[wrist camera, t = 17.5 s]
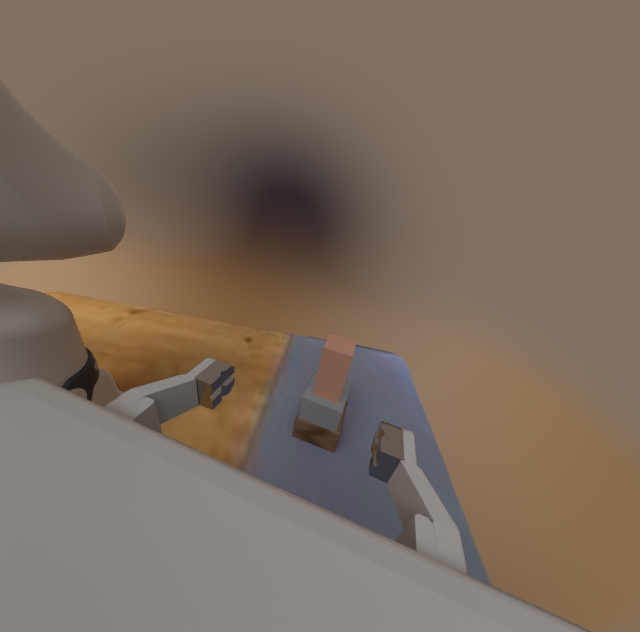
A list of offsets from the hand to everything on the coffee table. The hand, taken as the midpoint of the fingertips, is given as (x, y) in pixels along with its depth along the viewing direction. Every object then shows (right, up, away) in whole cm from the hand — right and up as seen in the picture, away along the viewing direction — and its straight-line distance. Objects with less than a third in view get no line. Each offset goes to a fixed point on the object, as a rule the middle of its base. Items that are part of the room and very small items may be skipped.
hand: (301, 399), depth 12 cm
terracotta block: (+2, -9, +28) cm, 30 cm away
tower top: (+1, -13, +30) cm, 33 cm away
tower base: (+1, -17, +33) cm, 37 cm away
